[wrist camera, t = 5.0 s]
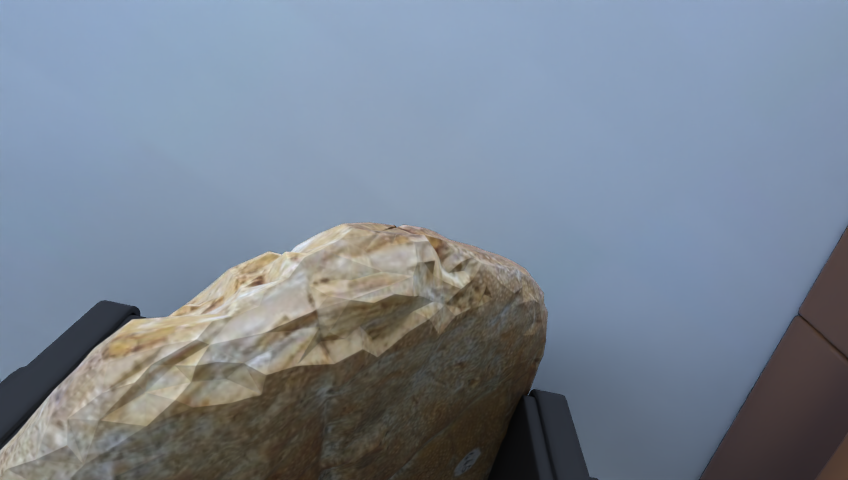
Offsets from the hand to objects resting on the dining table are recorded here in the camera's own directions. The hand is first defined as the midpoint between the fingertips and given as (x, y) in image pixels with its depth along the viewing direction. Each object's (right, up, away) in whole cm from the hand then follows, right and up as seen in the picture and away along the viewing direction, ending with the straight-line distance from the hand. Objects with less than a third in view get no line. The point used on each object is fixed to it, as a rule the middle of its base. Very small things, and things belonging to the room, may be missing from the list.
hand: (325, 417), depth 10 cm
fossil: (0, 0, +1) cm, 1 cm away
